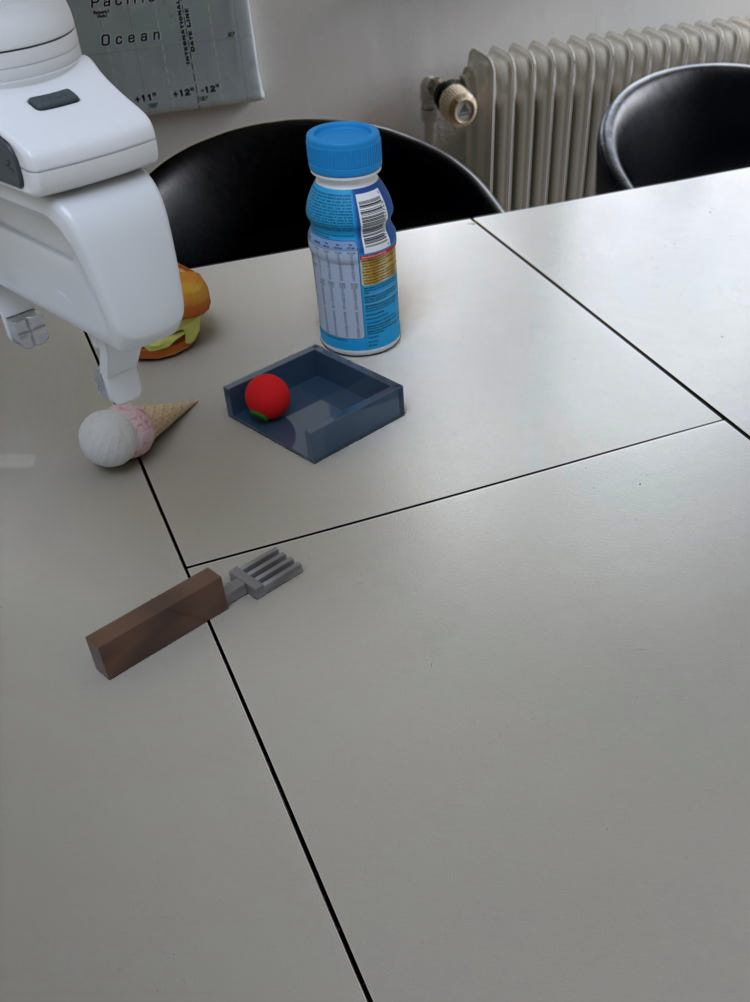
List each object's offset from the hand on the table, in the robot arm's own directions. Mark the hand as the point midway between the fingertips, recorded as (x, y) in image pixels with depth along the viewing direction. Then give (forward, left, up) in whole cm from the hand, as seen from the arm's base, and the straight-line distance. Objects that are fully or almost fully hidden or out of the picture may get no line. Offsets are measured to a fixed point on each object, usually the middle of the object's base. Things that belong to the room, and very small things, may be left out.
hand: (74, 368), depth 59 cm
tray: (-15, +28, -21) cm, 38 cm away
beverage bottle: (-23, +41, -21) cm, 52 cm away
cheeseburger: (-38, +27, -21) cm, 51 cm away
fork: (0, +5, -21) cm, 22 cm away
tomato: (-18, +25, -19) cm, 36 cm away
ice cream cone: (-23, +15, -21) cm, 35 cm away
